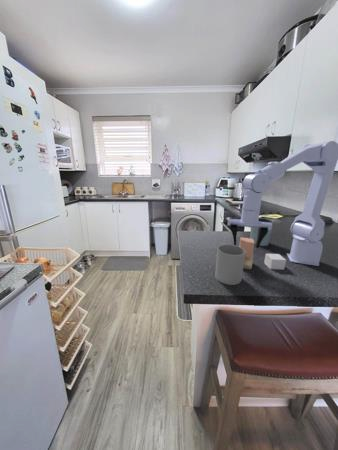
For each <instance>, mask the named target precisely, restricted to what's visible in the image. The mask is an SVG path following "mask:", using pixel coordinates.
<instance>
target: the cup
mask: <svg viewBox="0 0 338 450" xmlns="http://www.w3.org/2000/svg"><path fill="white" fill-rule="evenodd" d="M216 252H217V253H216V260H215V261H216V263H215V273H214V278H215V279H216V280H217V281H218V282H220V283H221V284H225V285H228V286H232V285H233V286H234V285H236V286H237V285H239V284H240V283H241V282H242V278H243V273H244V272H243V271H244V268H243V266H244V259H245V250H244V249H242V248H241V247H239V245H234V244H233V245H232V244H222V245H221V244H220V245H219V246H217V251H216Z"/></svg>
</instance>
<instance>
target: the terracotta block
mask: <svg viewBox="0 0 338 450" xmlns="http://www.w3.org/2000/svg"><path fill="white" fill-rule="evenodd" d="M238 247H241V248H242V249H244V250H245V257H246V258H252V255H253V256H254V247H255V245H254V240H253V239H250V237H249V238H248V237H240V239H239V245H238Z"/></svg>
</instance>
